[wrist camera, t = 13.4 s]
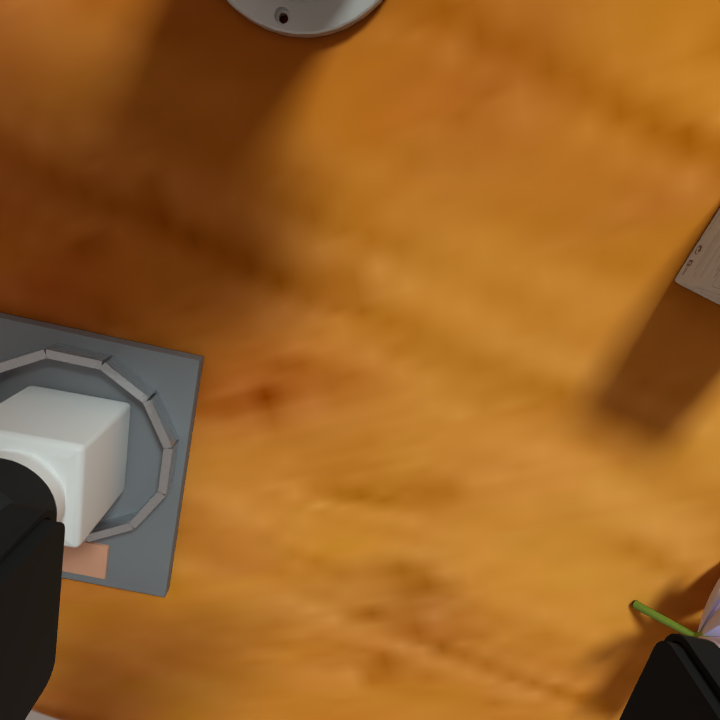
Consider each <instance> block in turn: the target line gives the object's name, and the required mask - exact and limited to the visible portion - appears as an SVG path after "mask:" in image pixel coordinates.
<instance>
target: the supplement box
mask: <svg viewBox="0 0 720 720" xmlns="http://www.w3.org/2000/svg"><path fill="white" fill-rule="evenodd" d="M675 282H676V283H678V284H680V285H682V286H683V287H685V288H687V289H689V290H691V291H693V292H695V293H697V294H699V295H701V296H703V297H705V298H707V299H709V300H711V301H713V302H715V303H717V304H719V305H720V208H719V210H718V211H717V213H716V215H715V216H714V218H713V219H712V221H711V223H710V224H709V225H708V227H707V229H706V230H705V232H704V233H703V235H702V236H701V238H700V240H699V241H698V243H697V244H696V246H695V247H694V249H693V251H692V252H691V254H690V255H689V257H688V259H687V260H686V262H685V263H684V265H683V267H682V268H681V270H680V271H679V273H678V275H677V276H676V278H675Z"/></svg>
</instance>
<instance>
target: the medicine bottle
mask: <svg viewBox="0 0 720 720" xmlns="http://www.w3.org/2000/svg"><path fill="white" fill-rule="evenodd" d="M130 409H131V407H130V405H129V403H126V402H121V401H116V400H110V399H105V398H99V397H94V396H88V395H82V394H77V393H71V392H66V391H60V390H55V389H49V388H44V387H38V386H28V387H27V388H25V389H23V390H22V391H20V392H18V393H17V394H15V395H13V396H12V397H10V398H8V399H7V400H5V401H3V402H2V403H0V511H1V510H2V509H3V508H4V507H6V506H7V505H9V504H10V503H19V504H24V505H29V506H34V507H40V508H45V509H50V510H52V511H54V513H55V516H56V521H57V522H62V523H64V525H65V540H64V546H68V547H73V548H75V547H78V546H80V545H81V544H82V542H83V541H84V540H85V539H86V537H87V536H88V535H89V534H90V532H91V531H92V530H93V529H94V527H95V526H96V525H97V524H98V522H99V521H100V520H101V518H102V517H103V516H104V515H105V513H106V512H107V511H108V510H109V508H110V507H111V506H112V505H113V503H114V502H115V501H116V499H117V498H118V497H119V496H120V494H121V493H122V492H123V490H124V488H125V475H126V462H127V449H128V436H129V423H130Z"/></svg>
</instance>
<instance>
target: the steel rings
mask: <svg viewBox="0 0 720 720" xmlns="http://www.w3.org/2000/svg"><path fill="white" fill-rule="evenodd" d="M111 357H112V355H111V354H107V353H102V352H97V351H93V350H88V349H83V348H79V347H74V346H69V345H65V344H60V343H58V344H56V343H55V344H51V345H48V346H45V347H42V348H39V349H36V350H32V351H29V352H26V353H23V354H20V355H16V356H13V357H10V358H7V359H5V360H3V361H1V362H0V382H1V381H2V379H3V378H4V377H5V375H6V374H7V373H8V372H9V370H10V369H14V368H17V367H20V366H23V365H26V364H30V363H33V362H36V361H39V360H43V359H46V358H48V359H53V360H58V361H62V362H67V363H72V364H76V365H81V366H86V367H90V368H95V369H100V370H101V371H103V372H104V373H105V374H106V375H108V376H109V377H110V378H112V379H113V380H114V381H115V382H117V383H118V384H119V385H120V386H122V387H123V388H124V389H126V390H127V391H128V392H129V393H131V394H132V395H133V396H134V397H136V398H137V399H138V400H140V401H141V402H142V403H143V404H144V406H145V409H146V411H147V413H148V415H149V417H150V420H151V422H152V424H153V426H154V428H155V431H156V433H157V435H158V437H159V439H160V441H161V444H162V446H163V448H164V450H163V457H162V465H161V472H160V480H159V487H158V489H157V491H156V492H155V493H154V494H153V495H152V496H151V497H150V498H149V499H148V500H147V501H146V502H145V503H144V505H143V506H142V507H141V508H140V509H139V510H138V511H137V512H134V513H130V514H126V515H123V516H119V517H115V518H112V519H108V520H105V521H101V522H98V524H97V525H96V526H95V527H94V529H93V530H92V531H91V532H90V534H89V535H88V536H87V537H86V539H85V540H84V541H83V542H86V541H88V542H90V541H94V540H98V539H101V538H105V537H109V536H112V535H116V534H120V533H123V532H127V531H131V530H133V529H134V528H136V527H137V526H138V525H139V524H140V523H141V522H142V521H143V520H144V519H145V518H146V517H147V515H148V514H149V513H150V512H151V511H152V510H153V509H154V508H155V507H156V506H157V505H158V504H159V503H160V502H161V500H162V499H163V498H164V497H165V496H166V494H167V493H168V491H169V490H170V488H171V487H172V485H173V481H174V474H175V467H176V460H177V453H178V446H179V440H178V438H179V436H178V434H177V432H176V429H175V427H174V425H173V423H172V420H171V418H170V416H169V414H168V411H167V409H166V407H165V405H164V402H163V400H162V398H161V396H160V393H159V392H157V393H155V392H156V390H157V389H156V388H154V387H153V386H152V385H150V384H149V383H148V382H147V381H145V380H144V379H143V378H142V377H140V376H139V375H138V374H137V373H135V372H134V371H133V370H132V369H130V368H129V367H128V366H127V365H125V364H124V363H123V362H122V361H120V360H119V359H118V358H116V357H115V356H114V357H112V358H111Z"/></svg>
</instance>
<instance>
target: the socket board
mask: <svg viewBox="0 0 720 720" xmlns="http://www.w3.org/2000/svg"><path fill="white" fill-rule="evenodd" d="M55 343H56V344H58V343H60V344H65V345H69V346H74V347H79V348H83V349H88V350H93V351H97V352H102V353H107V354H111V355H112V357H114V356H115V357H116V358H118V359H119V360H120V361H122V362H123V363H124V364H125V365H127V366H128V367H129V368H130V369H132V370H133V371H134V372H135V373H137V374H138V375H139V376H140V377H142V378H143V379H144V380H145V381H147V382H148V383H149V384H150V385H152V386H153V387H154V388H156V389H157V390H156V392H155V393H157V392H159V393H160V396H161V398H162V400H163V402H164V405H165V407H166V409H167V411H168V414H169V416H170V418H171V420H172V423H173V425H174V427H175V429H176V432H177V434H178V436H179V438H178V440H179V446H178V453H177V460H176V467H175V474H174V481H173V485H172V487H171V488H170V490H169V491H168V493H167V494H166V496H165V497H164V498H163V499H162V500H161V502H160V503H159V504H158V505H157V506H156V507H155V508H154V509H153V510H152V511H151V512H150V513H149V514H148V515H147V517H146V518H145V519H144V520H143V521H142V522H141V523H140V524H139V525H138V526H137V527H136V528H134V529H133V530H131V531H127V532H123V533H120V534H116V535H112V536H109V537H105V538H101V539H98V540H94V541H90V542H88V541H86V542H82V544H81V545H80V546H78V547H75V548H73V547H68V546H64V552H63V565H62V578H67V579H72V580H77V581H82V582H88V583H93V584H98V585H103V586H109V587H114V588H119V589H124V590H130V591H135V592H140V593H145V594H150V595H156V596H161V597H165V596H166V594H167V592H168V590H169V586H170V579H171V573H172V566H173V559H174V552H175V546H176V539H177V532H178V526H179V519H180V512H181V505H182V499H183V492H184V485H185V479H186V472H187V465H188V458H189V452H190V445H191V438H192V432H193V425H194V418H195V411H196V405H197V398H198V391H199V385H200V378H201V371H202V364H203V358H204V356H199V355H194V354H190V353H185V352H181V351H176V350H171V349H167V348H162V347H157V346H153V345H148V344H144V343H139V342H134V341H130V340H125V339H120V338H116V337H111V336H107V335H102V334H97V333H93V332H88V331H83V330H79V329H74V328H70V327H65V326H60V325H56V324H51V323H46V322H42V321H37V320H33V319H28V318H23V317H19V316H14V315H9V314H5V313H0V362H1V361H3V360H5V359H7V358H10V357H13V356H16V355H20V354H23V353H26V352H29V351H32V350H36V349H39V348H42V347H45V346H48V345H51V344H55ZM112 357H111V358H112ZM28 386H38V387H44V388H49V389H55V390H60V391H66V392H71V393H77V394H82V395H88V396H94V397H99V398H105V399H110V400H116V401H121V402H126V403H129V405H130V407H131V409H130V423H129V436H128V449H127V462H126V475H125V488H124V490H123V492H122V493H121V494H120V496H119V497H118V498H117V499H116V501H115V502H114V503H113V505H112V506H111V507H110V508H109V510H108V511H107V512H106V513H105V515H104V516H103V517H102V518H101V520H100V521H99V522H101V521H105V520H108V519H112V518H115V517H119V516H123V515H126V514H130V513H134V512H137V511H138V510H139V509H140V508H141V507H142V506H143V505H144V503H145V502H146V501H147V500H148V499H149V498H150V497H151V496H152V495H153V494H154V493H155V492H156V491H157V489H158V487H159V480H160V472H161V465H162V457H163V450H164V448H163V446H162V444H161V441H160V439H159V437H158V435H157V433H156V431H155V428H154V426H153V424H152V422H151V420H150V417H149V415H148V413H147V411H146V409H145V406H144V404H143V403H142V402H141V401H140V400H138V399H137V398H136V397H134V396H133V395H132V394H131V393H129V392H128V391H127V390H126V389H124V388H123V387H122V386H120V385H119V384H118V383H117V382H115V381H114V380H113V379H112V378H110V377H109V376H108V375H106V374H105V373H104V372H103V371H101V370H100V369H95V368H90V367H86V366H81V365H76V364H72V363H67V362H62V361H58V360H53V359H48V358H46V359H43V360H39V361H36V362H33V363H30V364H26V365H23V366H20V367H17V368H14V369H10V370H9V372H8V373H7V374H6V375H5V377H4V378H3V379H2V381H1V382H0V403H2V402H3V401H5V400H7V399H8V398H10V397H12V396H13V395H15V394H17V393H18V392H20V391H22V390H23V389H25V388H27V387H28Z"/></svg>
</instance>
